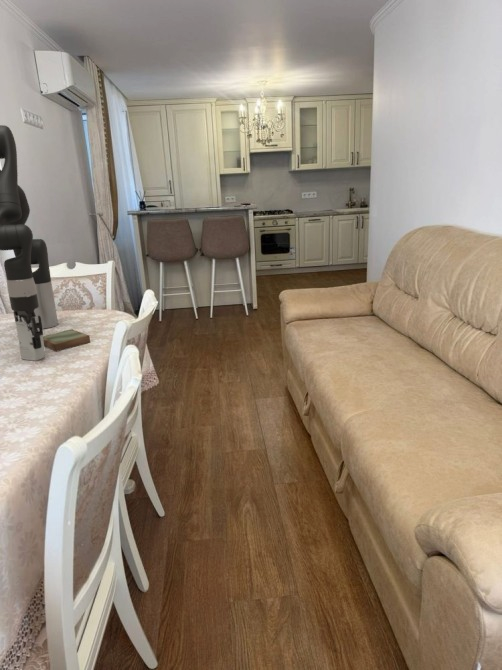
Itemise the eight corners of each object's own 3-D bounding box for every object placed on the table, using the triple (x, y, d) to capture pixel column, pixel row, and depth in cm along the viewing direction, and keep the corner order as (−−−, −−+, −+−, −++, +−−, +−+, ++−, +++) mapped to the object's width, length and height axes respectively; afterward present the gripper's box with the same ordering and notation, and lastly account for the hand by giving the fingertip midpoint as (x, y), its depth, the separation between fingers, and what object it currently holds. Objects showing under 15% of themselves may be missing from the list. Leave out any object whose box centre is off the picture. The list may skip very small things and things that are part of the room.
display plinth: (39, 344, 152) (38, 337, 151) (73, 335, 161) (72, 329, 160) (56, 351, 144) (55, 344, 144) (90, 342, 153) (89, 335, 152)
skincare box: (20, 359, 138) (13, 321, 134) (31, 354, 142) (24, 318, 138) (36, 361, 136) (30, 323, 133) (47, 356, 140) (40, 319, 137)
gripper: (0, 292, 135) (10, 344, 140) (19, 298, 126) (30, 353, 131) (25, 288, 140) (34, 338, 145) (46, 294, 131) (54, 347, 136)
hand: (32, 345), depth 138 cm, fingers closed on skincare box, 7 cm apart
